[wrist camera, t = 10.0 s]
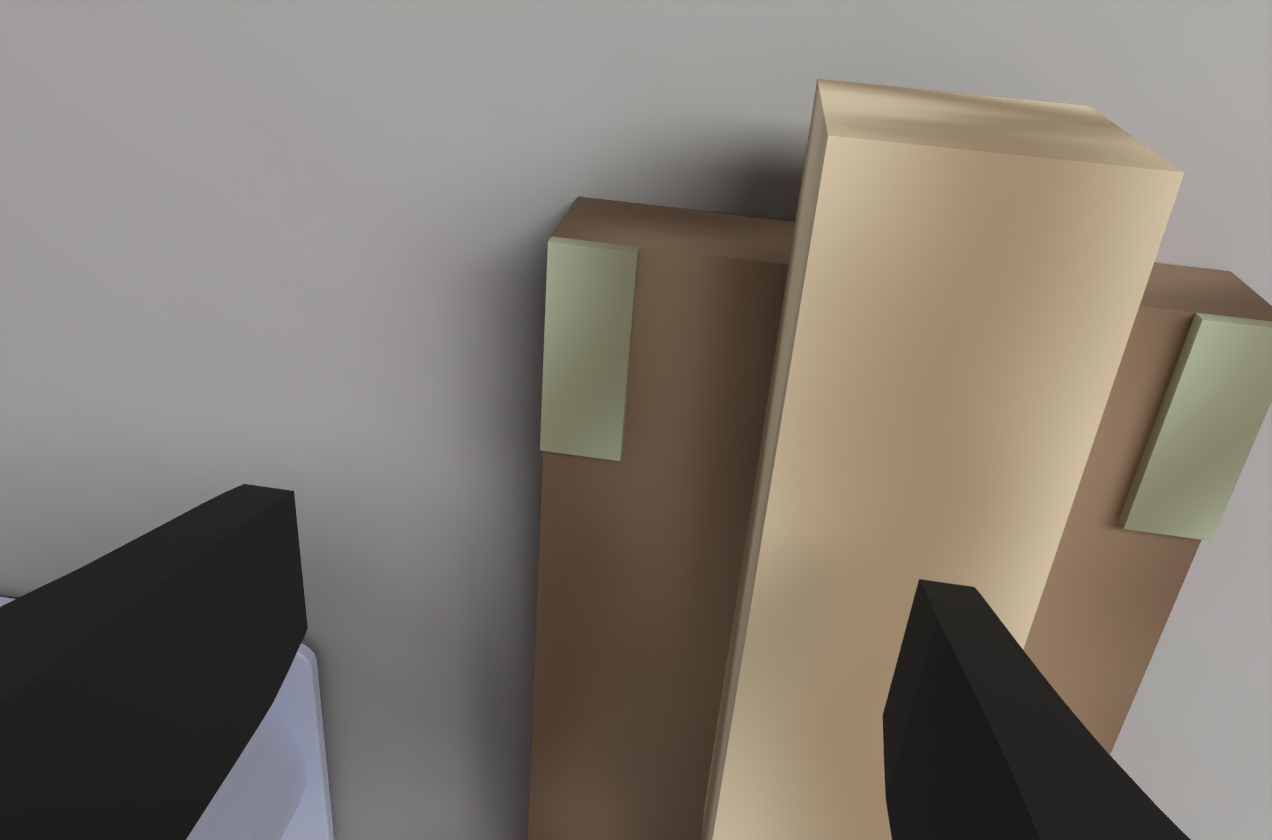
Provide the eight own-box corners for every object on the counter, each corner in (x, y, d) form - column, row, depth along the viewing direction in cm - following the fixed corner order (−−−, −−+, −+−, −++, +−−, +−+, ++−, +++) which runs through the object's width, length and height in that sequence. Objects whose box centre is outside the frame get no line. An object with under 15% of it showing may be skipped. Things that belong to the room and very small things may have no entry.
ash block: (703, 810, 23) (689, 979, 19) (817, 78, 15) (827, 135, 12) (881, 838, 22) (899, 1014, 19) (1089, 106, 15) (1185, 172, 11)
